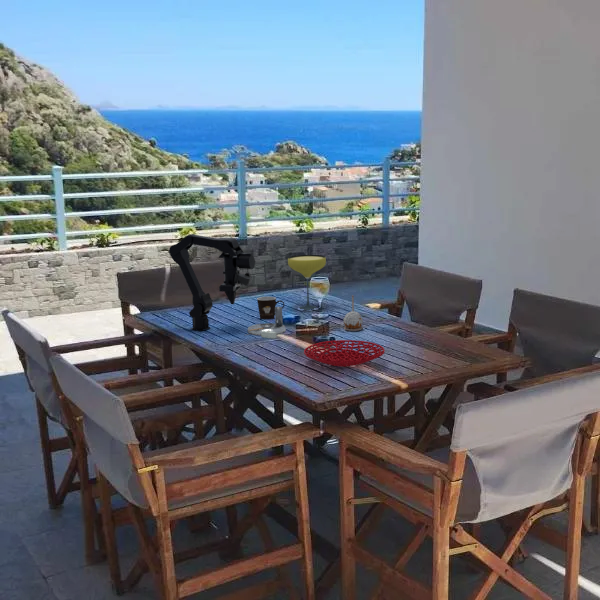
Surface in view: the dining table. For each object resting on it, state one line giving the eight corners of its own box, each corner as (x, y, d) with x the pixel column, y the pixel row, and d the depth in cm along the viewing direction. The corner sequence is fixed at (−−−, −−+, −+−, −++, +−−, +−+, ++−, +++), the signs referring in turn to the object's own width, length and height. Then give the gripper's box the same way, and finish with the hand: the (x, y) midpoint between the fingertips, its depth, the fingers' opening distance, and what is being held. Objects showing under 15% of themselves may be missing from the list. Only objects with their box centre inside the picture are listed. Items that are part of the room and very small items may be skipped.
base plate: (233, 336, 344) (232, 326, 343) (261, 326, 361) (260, 317, 360) (272, 341, 333) (272, 331, 332) (299, 330, 350) (298, 321, 349)
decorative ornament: (365, 330, 347) (364, 296, 344) (348, 332, 345) (347, 297, 342) (358, 326, 354) (357, 293, 351) (341, 328, 352) (340, 294, 349)
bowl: (325, 379, 280) (325, 365, 279) (291, 359, 307) (291, 346, 306) (399, 367, 292) (399, 354, 291) (361, 349, 318) (360, 336, 317)
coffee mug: (254, 321, 370) (253, 299, 368) (262, 317, 378) (261, 296, 376) (278, 322, 366) (277, 301, 364) (285, 318, 374) (285, 297, 372)
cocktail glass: (327, 312, 385) (326, 259, 380) (289, 313, 385) (287, 260, 380) (326, 304, 402) (325, 254, 397) (290, 305, 403) (288, 255, 398)
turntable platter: (258, 337, 336) (257, 315, 334) (241, 330, 350) (240, 308, 348) (292, 332, 344) (291, 310, 342) (274, 325, 357) (273, 303, 356)
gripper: (243, 271, 337) (245, 308, 340) (254, 264, 355) (256, 299, 358) (217, 272, 339) (219, 308, 342) (229, 264, 357) (231, 299, 360)
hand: (232, 304), depth 350 cm, fingers closed
